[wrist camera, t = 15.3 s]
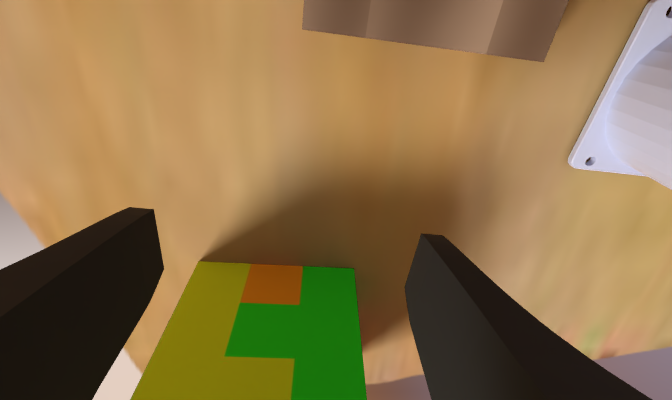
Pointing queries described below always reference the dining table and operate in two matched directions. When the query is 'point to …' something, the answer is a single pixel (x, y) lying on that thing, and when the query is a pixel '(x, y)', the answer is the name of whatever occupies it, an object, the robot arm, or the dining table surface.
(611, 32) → the dining table surface
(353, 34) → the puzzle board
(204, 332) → the puzzle toy
